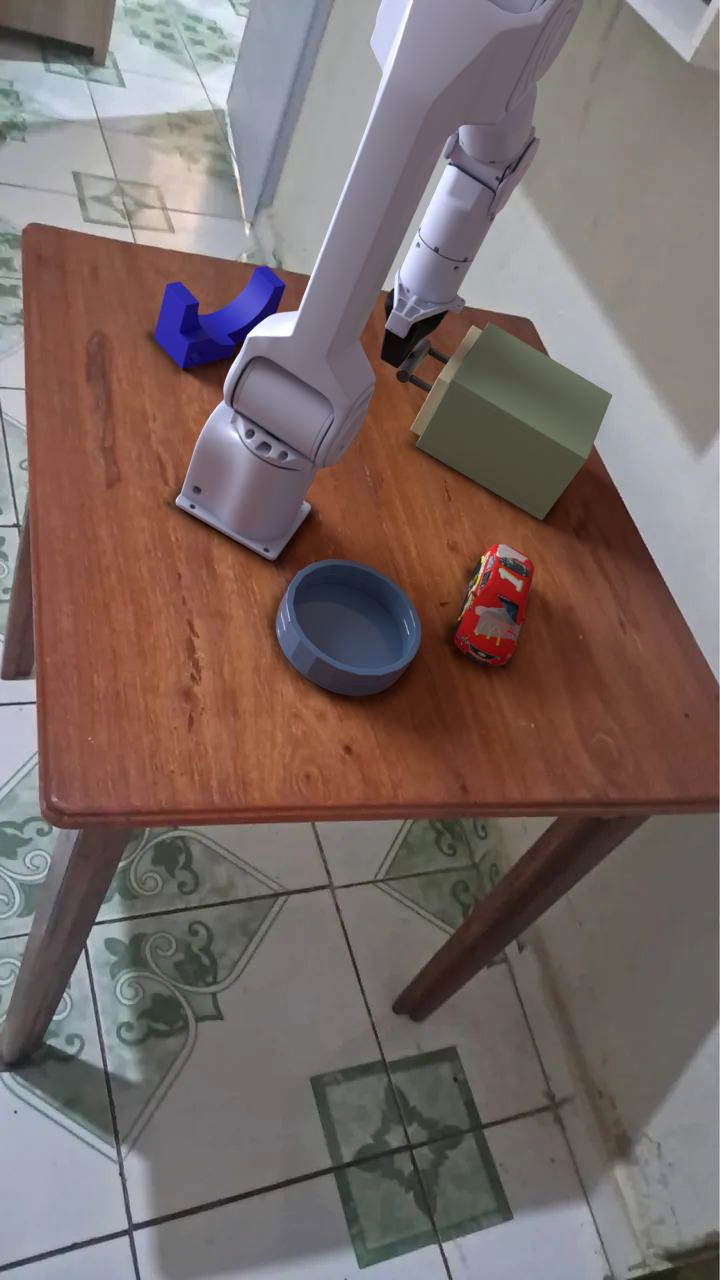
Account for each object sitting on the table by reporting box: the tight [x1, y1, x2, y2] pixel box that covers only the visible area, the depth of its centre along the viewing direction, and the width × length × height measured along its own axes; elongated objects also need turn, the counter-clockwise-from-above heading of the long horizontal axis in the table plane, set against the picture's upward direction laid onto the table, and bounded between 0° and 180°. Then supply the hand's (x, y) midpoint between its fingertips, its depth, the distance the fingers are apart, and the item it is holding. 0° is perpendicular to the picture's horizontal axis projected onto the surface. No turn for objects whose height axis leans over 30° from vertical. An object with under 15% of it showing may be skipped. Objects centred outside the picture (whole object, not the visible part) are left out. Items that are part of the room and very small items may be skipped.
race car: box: [451, 543, 535, 668], centre depth 83 cm, size 13×5×4 cm, turn 160°
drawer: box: [395, 324, 483, 437], centre depth 96 cm, size 17×11×7 cm, turn 67°
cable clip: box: [153, 265, 287, 370], centre depth 91 cm, size 12×4×6 cm, turn 132°
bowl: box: [275, 558, 422, 697], centre depth 76 cm, size 11×11×3 cm
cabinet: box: [415, 321, 613, 521], centre depth 96 cm, size 15×13×9 cm
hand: (390, 360), depth 96 cm, fingers closed, pressing on drawer
